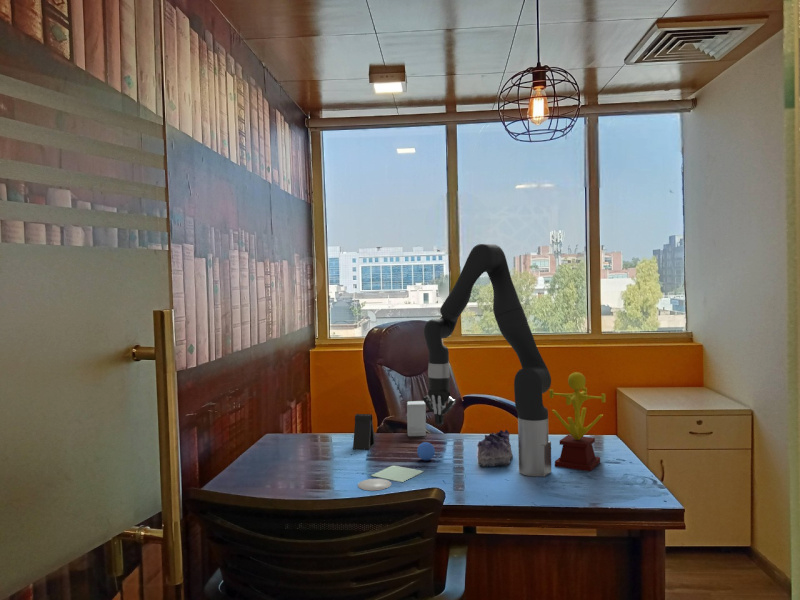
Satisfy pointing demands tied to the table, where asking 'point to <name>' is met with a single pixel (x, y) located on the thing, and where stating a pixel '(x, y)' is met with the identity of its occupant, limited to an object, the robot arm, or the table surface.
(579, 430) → the trophy
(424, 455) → the ball
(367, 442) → the phone stand
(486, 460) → the geode
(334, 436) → the table surface
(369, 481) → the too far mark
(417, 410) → the supplement box
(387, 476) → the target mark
